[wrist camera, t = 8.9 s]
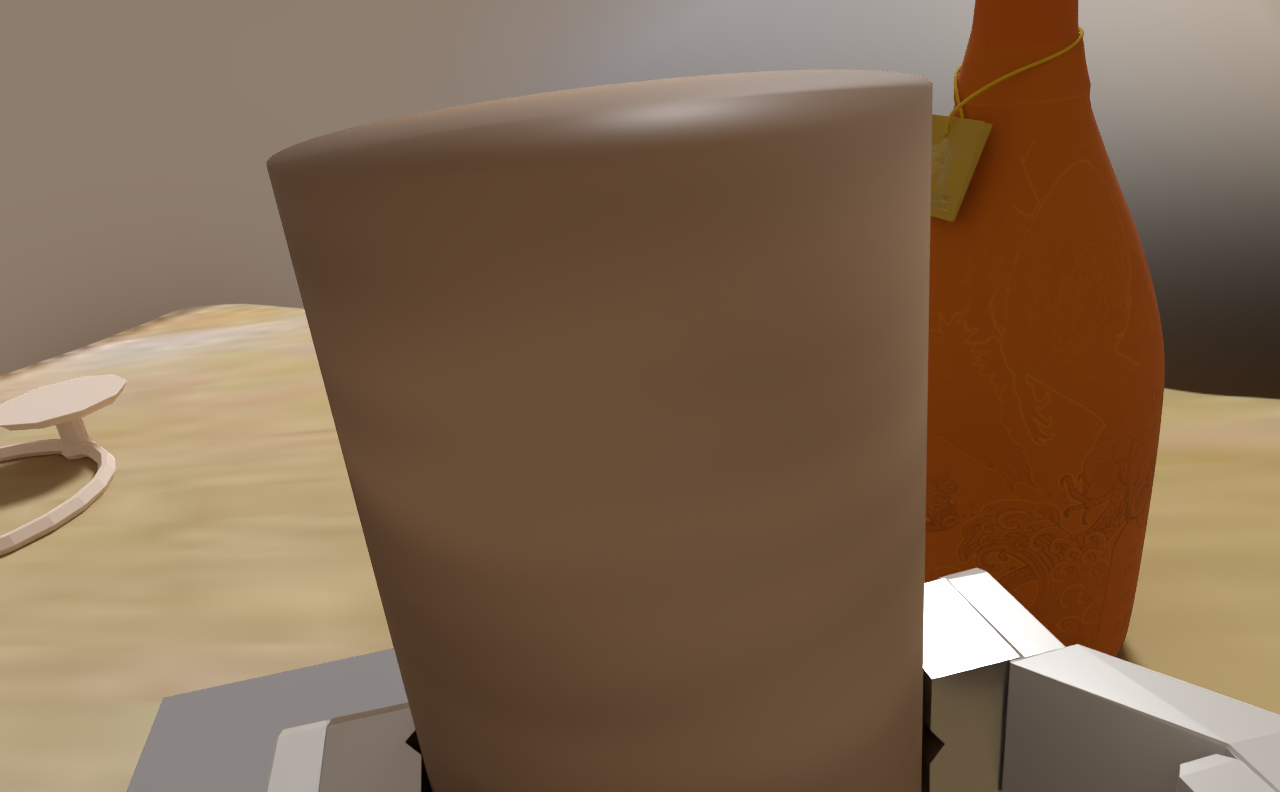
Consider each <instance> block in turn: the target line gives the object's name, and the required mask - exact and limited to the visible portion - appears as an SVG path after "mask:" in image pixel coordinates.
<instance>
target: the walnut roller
mask: <svg viewBox="0 0 1280 792" xmlns="http://www.w3.org/2000/svg"><path fill="white" fill-rule="evenodd" d="M931 146H932V83H931V82H930V81H929V80H928V79H926V78H922V77H919V76H916V75H911V74H905V73H898V72H888V71H871V70H791V71H790V70H788V71H767V72H766V71H765V72H746V73H731V74H716V75H703V76H691V77H681V78H669V79H658V80H649V81H638V82H628V83H619V84H611V85H601V86H593V87H585V88H577V89H569V90H561V91H554V92H546V93H539V94H533V95H525V96H518V97H511V98H505V99H498V100H492V101H486V102H480V103H473V104H468V105H461V106H456V107H450V108H444V109H439V110H433V111H428V112H423V113H417V114H412V115H407V116H403V117H398V118H393V119H388V120H383V121H379V122H375V123H370V124H366V125H361V126H357V127H353V128H349V129H345V130H341V131H337V132H334V133H331V134H327V135H324V136H320V137H316V138H313V139H311V140H307V141H304V142H301V143H299V144H296V145H293V146H291V147H289V148H287V149H284V150H282V151H280V152H278V153H276V154H275V155H273V156H272V157H271V158H270V159H269V160H268V161H267V169H268V172H269V176H270V180H271V184H272V188H273V191H274V195H275V199H276V203H277V207H278V210H279V214H280V218H281V221H282V226H283V229H284V233H285V237H286V240H287V244H288V248H289V252H290V256H291V260H292V263H293V267H294V271H295V275H296V278H297V282H298V286H299V290H300V294H301V298H302V301H303V305H304V309H305V313H306V317H307V320H308V324H309V328H310V332H311V335H312V339H313V343H314V347H315V351H316V354H317V358H318V362H319V366H320V370H321V373H322V377H323V381H324V385H325V389H326V392H327V396H328V400H329V404H330V407H331V411H332V415H333V419H334V423H335V426H336V430H337V434H338V438H339V442H340V445H341V449H342V453H343V457H344V461H345V464H346V468H347V472H348V476H349V480H350V483H351V487H352V491H353V495H354V498H355V502H356V506H357V510H358V514H359V517H360V521H361V525H362V529H363V533H364V536H365V540H366V544H367V548H368V552H369V555H370V559H371V563H372V567H373V570H374V574H375V578H376V582H377V586H378V589H379V593H380V597H381V601H382V605H383V608H384V612H385V616H386V620H387V624H388V627H389V631H390V635H391V639H392V643H393V646H394V650H395V654H396V658H397V661H398V665H399V669H400V673H401V677H402V680H403V684H404V688H405V692H406V696H407V699H408V703H409V707H410V711H411V715H412V718H413V722H414V726H415V730H416V733H417V737H418V741H419V745H420V749H421V752H422V756H423V760H424V764H425V768H426V771H427V775H428V779H429V783H430V787H431V790H432V792H921V776H922V713H923V650H924V587H925V524H926V461H927V398H928V335H929V272H930V209H931Z"/></svg>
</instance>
